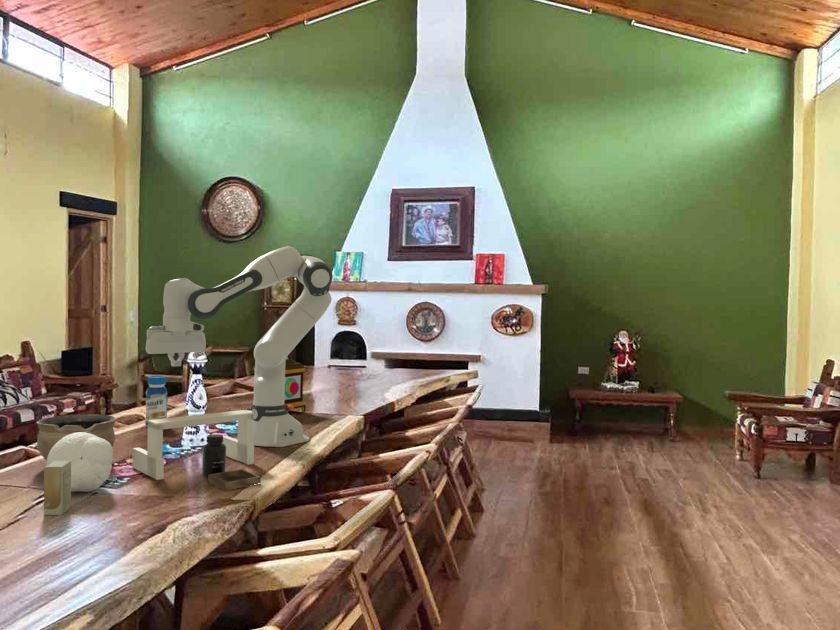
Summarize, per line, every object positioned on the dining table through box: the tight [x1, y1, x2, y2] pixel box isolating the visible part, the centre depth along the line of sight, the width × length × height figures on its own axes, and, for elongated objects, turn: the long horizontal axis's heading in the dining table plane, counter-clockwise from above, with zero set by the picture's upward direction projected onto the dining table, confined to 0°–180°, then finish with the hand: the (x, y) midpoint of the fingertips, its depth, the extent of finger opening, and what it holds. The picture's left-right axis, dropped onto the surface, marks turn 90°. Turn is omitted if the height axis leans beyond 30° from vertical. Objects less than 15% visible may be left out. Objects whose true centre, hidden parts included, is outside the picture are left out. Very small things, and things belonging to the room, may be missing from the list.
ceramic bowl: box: [35, 414, 117, 462], centre depth 223 cm, size 22×22×15 cm
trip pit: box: [207, 468, 262, 491], centre depth 210 cm, size 11×11×2 cm
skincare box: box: [43, 461, 72, 516], centre depth 180 cm, size 6×4×12 cm
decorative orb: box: [46, 432, 114, 493], centre depth 198 cm, size 20×18×16 cm
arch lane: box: [132, 409, 255, 481], centre depth 228 cm, size 32×18×16 cm, turn 133°
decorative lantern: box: [250, 355, 307, 413], centre depth 324 cm, size 20×20×30 cm
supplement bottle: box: [201, 433, 227, 478], centre depth 218 cm, size 7×7×12 cm
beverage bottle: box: [144, 374, 169, 428], centre depth 287 cm, size 8×8×20 cm
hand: (176, 366), depth 246 cm, fingers closed
